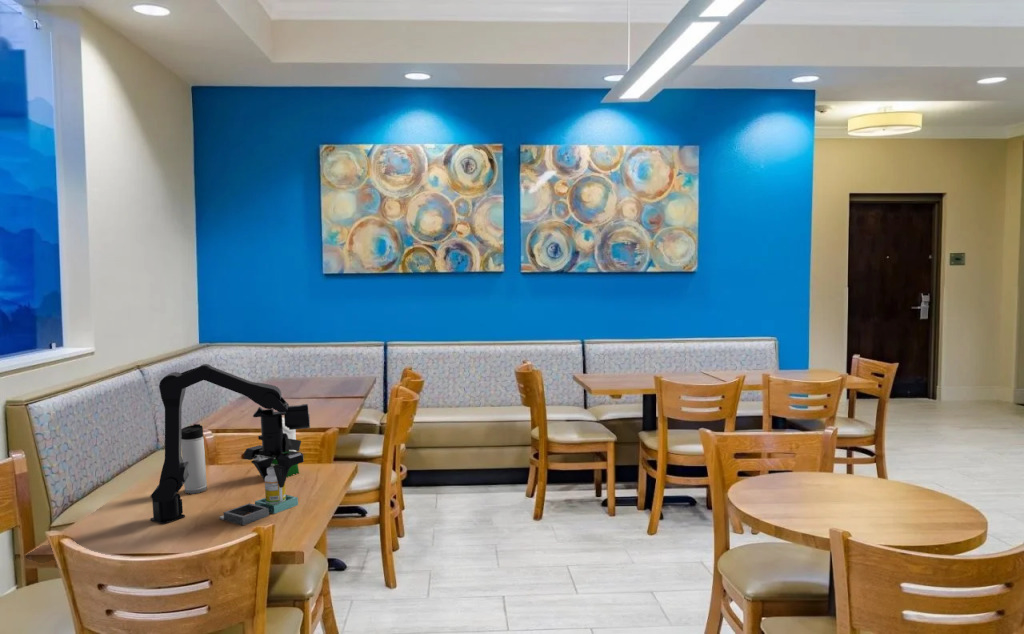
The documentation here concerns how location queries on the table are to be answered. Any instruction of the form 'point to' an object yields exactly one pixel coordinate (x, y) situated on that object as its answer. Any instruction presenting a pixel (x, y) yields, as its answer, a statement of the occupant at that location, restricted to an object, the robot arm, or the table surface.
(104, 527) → the table surface
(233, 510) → the grey and teal tray
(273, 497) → the supplement bottle
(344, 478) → the table surface
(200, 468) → the travel mug
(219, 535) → the table surface
